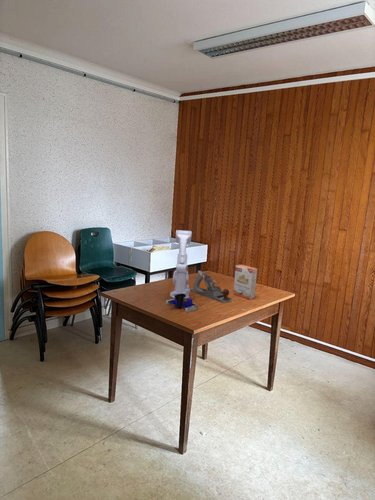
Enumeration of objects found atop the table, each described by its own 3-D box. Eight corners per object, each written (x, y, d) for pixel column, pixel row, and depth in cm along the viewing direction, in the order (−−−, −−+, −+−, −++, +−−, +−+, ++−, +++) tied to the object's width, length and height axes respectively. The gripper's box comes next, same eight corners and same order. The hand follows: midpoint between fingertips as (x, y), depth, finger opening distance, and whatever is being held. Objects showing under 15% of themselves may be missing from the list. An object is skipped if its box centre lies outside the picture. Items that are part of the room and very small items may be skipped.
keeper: (176, 301, 230) (177, 297, 229) (197, 309, 218) (198, 304, 217) (166, 304, 223) (166, 299, 223) (186, 312, 211) (187, 307, 211)
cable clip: (172, 304, 224) (173, 295, 223) (177, 303, 228) (178, 293, 227) (186, 309, 216) (187, 300, 215) (191, 308, 220) (192, 298, 219)
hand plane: (223, 303, 233) (225, 280, 231) (188, 290, 257) (190, 269, 255) (233, 301, 239) (235, 279, 237) (197, 289, 263) (199, 268, 261)
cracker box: (232, 294, 254) (235, 265, 250) (238, 293, 258) (240, 264, 255) (249, 299, 244) (252, 269, 241) (254, 298, 248) (257, 268, 245)
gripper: (176, 287, 209) (175, 310, 211) (194, 283, 219) (192, 305, 221) (168, 284, 213) (166, 306, 216) (185, 280, 224) (184, 302, 226)
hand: (179, 305), depth 219 cm, fingers closed
